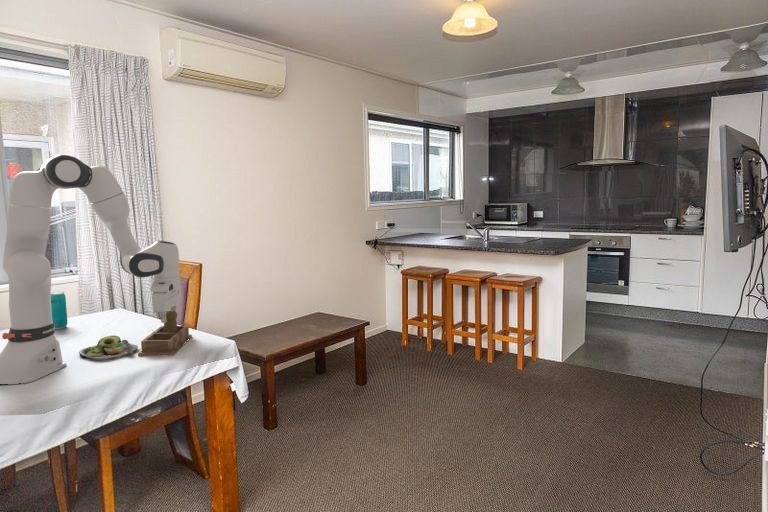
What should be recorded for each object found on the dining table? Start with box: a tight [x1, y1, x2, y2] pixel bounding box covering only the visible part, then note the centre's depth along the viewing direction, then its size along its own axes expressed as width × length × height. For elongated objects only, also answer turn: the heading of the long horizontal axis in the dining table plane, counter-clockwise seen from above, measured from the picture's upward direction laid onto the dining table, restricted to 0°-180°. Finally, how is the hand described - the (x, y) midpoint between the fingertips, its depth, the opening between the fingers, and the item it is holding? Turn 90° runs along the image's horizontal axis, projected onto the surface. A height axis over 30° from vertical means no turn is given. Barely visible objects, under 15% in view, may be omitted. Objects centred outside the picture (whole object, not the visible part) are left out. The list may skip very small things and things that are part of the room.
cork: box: [163, 310, 178, 333], centre depth 190 cm, size 6×6×11 cm
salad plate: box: [78, 335, 139, 361], centre depth 178 cm, size 19×18×5 cm
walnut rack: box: [137, 325, 193, 357], centre depth 186 cm, size 22×12×5 cm, turn 4°
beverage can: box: [51, 291, 69, 330], centre depth 208 cm, size 6×6×15 cm
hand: (168, 319), depth 189 cm, fingers open, 8 cm apart
